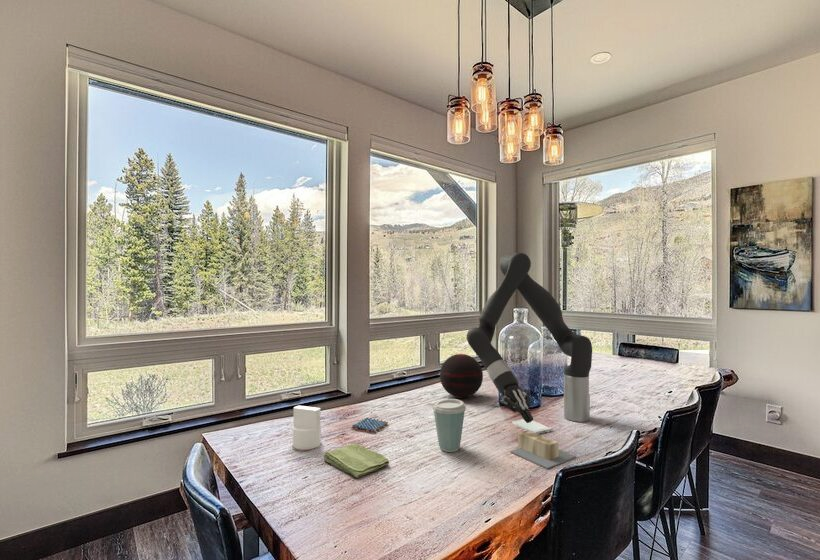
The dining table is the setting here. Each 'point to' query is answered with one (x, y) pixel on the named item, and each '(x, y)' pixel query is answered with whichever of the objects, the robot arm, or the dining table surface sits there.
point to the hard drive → (532, 426)
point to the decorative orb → (461, 375)
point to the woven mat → (370, 425)
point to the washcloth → (355, 459)
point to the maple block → (538, 445)
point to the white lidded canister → (306, 427)
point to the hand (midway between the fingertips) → (530, 421)
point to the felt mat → (542, 461)
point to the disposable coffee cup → (449, 423)
